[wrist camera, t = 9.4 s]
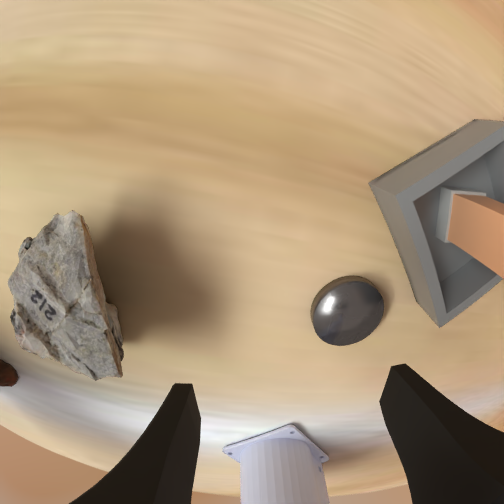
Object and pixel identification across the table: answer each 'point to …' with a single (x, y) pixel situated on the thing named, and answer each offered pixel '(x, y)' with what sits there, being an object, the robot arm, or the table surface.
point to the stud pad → (346, 310)
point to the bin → (426, 214)
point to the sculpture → (7, 374)
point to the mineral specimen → (65, 301)
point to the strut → (473, 225)
